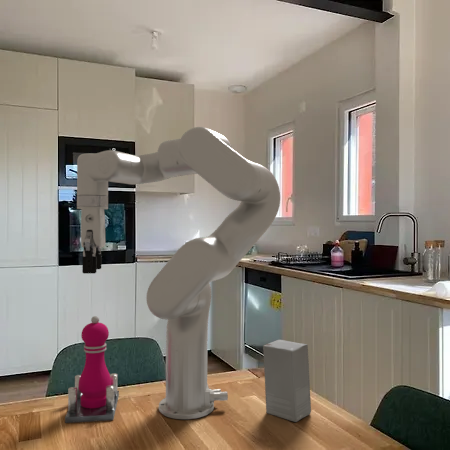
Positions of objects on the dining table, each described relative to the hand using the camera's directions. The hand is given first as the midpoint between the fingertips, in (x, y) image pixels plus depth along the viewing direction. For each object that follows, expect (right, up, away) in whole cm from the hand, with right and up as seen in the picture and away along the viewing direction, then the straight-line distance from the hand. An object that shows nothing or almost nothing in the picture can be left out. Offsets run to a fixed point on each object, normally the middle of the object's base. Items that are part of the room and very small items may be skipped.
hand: (92, 271), depth 114 cm
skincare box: (+47, -31, -13) cm, 58 cm away
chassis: (+3, -30, -10) cm, 32 cm away
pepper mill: (+4, -29, -11) cm, 31 cm away
